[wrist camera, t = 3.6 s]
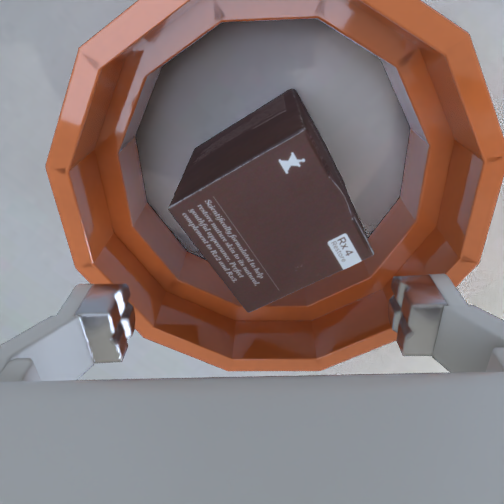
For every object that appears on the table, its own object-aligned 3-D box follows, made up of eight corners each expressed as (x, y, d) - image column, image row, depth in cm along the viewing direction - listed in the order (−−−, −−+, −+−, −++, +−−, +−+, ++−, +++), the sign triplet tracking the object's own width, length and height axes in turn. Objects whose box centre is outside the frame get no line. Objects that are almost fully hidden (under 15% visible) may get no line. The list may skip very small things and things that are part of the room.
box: (191, 146, 22) (161, 206, 16) (294, 83, 20) (307, 123, 14) (251, 235, 25) (246, 317, 18) (347, 187, 23) (377, 259, 17)
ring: (482, -44, 18) (571, -61, 12) (414, 299, 27) (449, 371, 21) (63, -25, 18) (-16, -33, 13) (135, 301, 27) (105, 372, 22)
